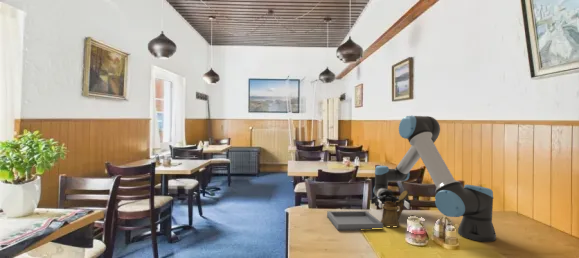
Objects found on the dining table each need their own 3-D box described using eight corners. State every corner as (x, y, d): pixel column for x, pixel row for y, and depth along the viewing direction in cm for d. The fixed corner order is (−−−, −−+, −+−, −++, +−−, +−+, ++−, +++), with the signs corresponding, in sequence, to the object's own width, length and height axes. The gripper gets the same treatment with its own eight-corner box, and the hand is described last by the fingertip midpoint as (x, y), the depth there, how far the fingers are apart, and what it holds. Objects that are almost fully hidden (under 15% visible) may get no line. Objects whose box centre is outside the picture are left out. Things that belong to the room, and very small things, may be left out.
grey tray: (382, 230, 155) (382, 223, 155) (337, 230, 153) (338, 224, 153) (366, 216, 177) (366, 210, 177) (327, 216, 175) (327, 211, 175)
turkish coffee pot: (411, 228, 159) (412, 191, 159) (383, 227, 159) (385, 191, 158) (404, 222, 168) (405, 187, 168) (378, 222, 168) (379, 187, 167)
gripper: (407, 203, 183) (419, 214, 162) (362, 201, 185) (369, 212, 163) (407, 190, 183) (420, 199, 162) (362, 188, 184) (369, 197, 163)
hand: (394, 205), depth 163 cm, fingers open, 13 cm apart
